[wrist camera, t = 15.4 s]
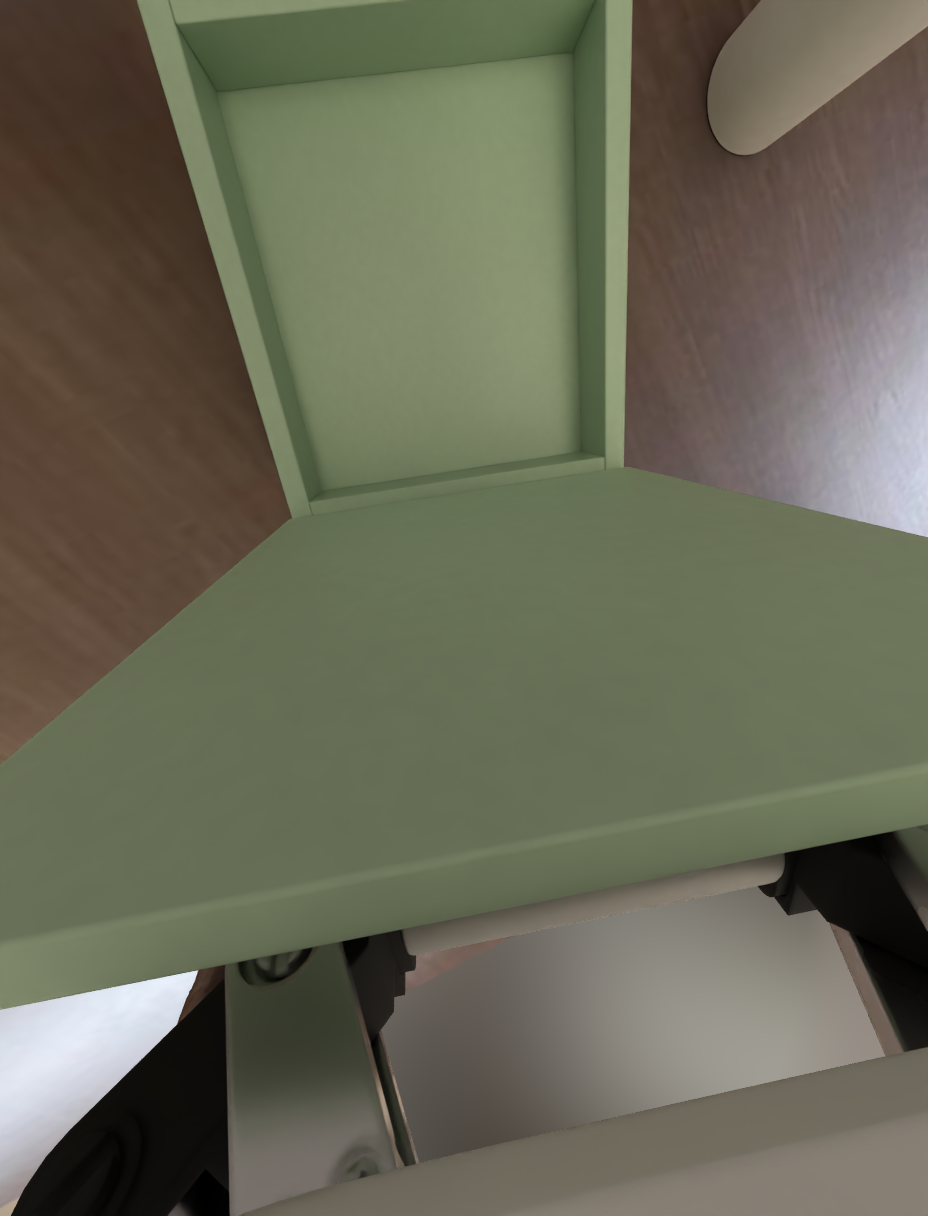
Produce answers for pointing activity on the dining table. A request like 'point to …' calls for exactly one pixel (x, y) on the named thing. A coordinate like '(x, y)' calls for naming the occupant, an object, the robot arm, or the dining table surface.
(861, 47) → the cylinder
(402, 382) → the green open lid box
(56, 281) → the dining table surface
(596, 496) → the green box lid
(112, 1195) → the robot arm
